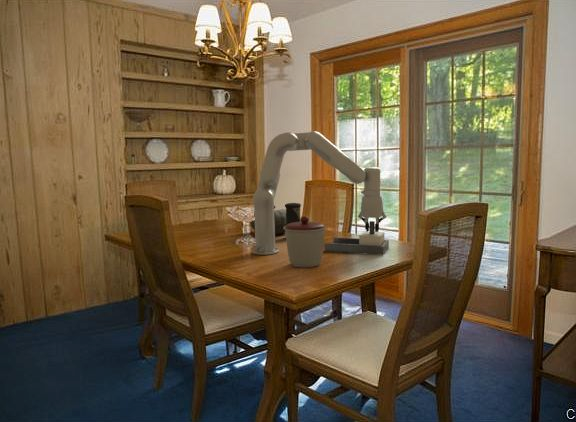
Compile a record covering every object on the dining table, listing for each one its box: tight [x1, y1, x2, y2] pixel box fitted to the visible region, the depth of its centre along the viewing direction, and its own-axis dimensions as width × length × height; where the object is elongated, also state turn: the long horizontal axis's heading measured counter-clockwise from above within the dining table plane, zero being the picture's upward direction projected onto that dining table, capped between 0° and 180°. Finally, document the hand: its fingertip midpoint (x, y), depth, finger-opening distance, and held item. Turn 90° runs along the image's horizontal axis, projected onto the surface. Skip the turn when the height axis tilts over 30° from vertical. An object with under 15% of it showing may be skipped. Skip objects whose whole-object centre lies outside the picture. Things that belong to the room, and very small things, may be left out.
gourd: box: [249, 205, 286, 236], centre depth 266 cm, size 25×25×17 cm
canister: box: [283, 215, 327, 269], centre depth 189 cm, size 18×18×21 cm
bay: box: [324, 236, 390, 256], centre depth 218 cm, size 16×28×4 cm, turn 68°
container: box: [284, 202, 302, 225], centre depth 250 cm, size 9×9×20 cm
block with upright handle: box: [358, 220, 386, 246], centre depth 214 cm, size 11×10×13 cm
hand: (372, 231), depth 214 cm, fingers open, 3 cm apart
